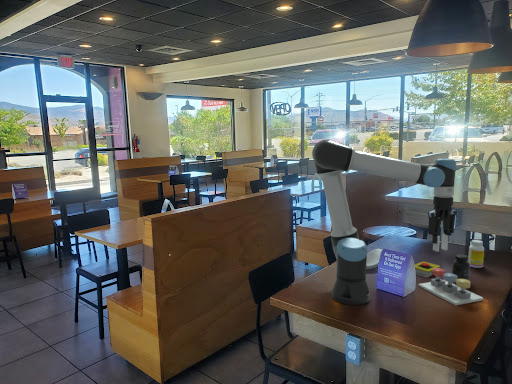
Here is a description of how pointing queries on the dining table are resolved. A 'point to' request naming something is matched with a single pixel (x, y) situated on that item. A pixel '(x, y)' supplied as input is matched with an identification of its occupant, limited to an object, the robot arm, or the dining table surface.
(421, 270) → the emergency button
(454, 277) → the slate button
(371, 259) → the spoon rest
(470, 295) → the console
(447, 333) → the dining table surface
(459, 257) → the supplement bottle
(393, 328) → the dining table surface
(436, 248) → the robot arm
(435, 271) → the red button
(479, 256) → the supplement bottle
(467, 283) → the ochre button
